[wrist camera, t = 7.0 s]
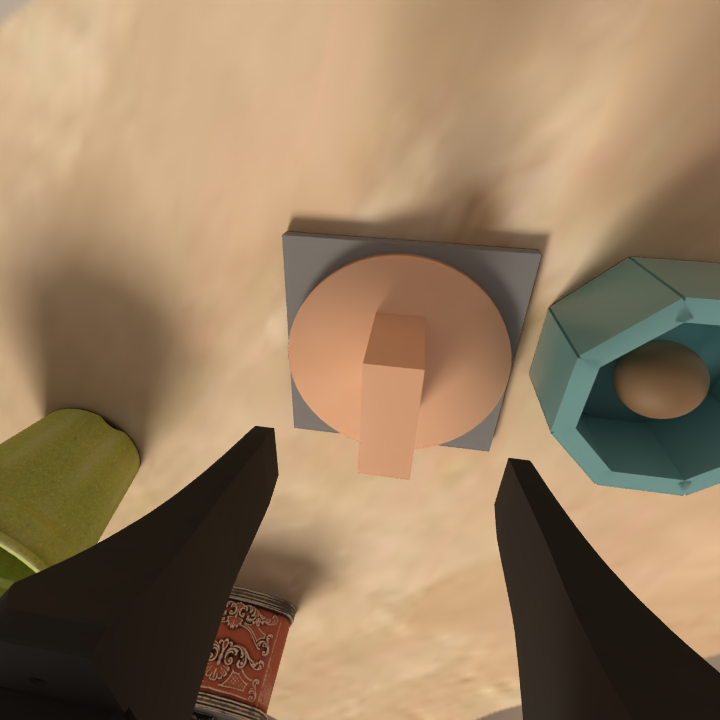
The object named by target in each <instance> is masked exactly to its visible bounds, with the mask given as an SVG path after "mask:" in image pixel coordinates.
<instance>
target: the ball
mask: <svg viewBox="0 0 720 720" xmlns="http://www.w3.org/2000/svg"><path fill="white" fill-rule="evenodd" d="M613 385H614V389H615V392H616V394H617V396H618V397H619V399H620V400H621V401H622V402H623V403H624V404H625V405H626V406H627V407H628V408H629V409H631V410H632V411H634V412H636V413H638V414H640V415H643V416H646V417H649V418H656V419H669V418H676V417H679V416H682V415H685V414H687V413H689V412H691V411H692V410H694V409H695V408H696V407H698V406H699V405H700V404H701V402H702V401H703V400H704V398H705V397H706V395H707V392H708V389H709V385H710V376H709V372H708V368H707V366H706V364H705V363H704V361H703V360H702V358H701V357H700V356H699V355H698V354H697V353H696V352H695V351H693V350H692V349H690V348H689V347H687V346H685V345H682V344H680V343H677V342H673V341H667V340H652V341H649V342H647V343H645V344H643V345H641V346H639V347H637V348H635V349H634V350H632V351H630V352H628V353H626V354H624V355H622V356H621V357H620V358H619V360H618V361H617V363H616V365H615V368H614V371H613Z"/></svg>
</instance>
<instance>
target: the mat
mask: <svg viewBox="0 0 720 720" xmlns="http://www.w3.org/2000/svg"><path fill="white" fill-rule="evenodd" d="M282 238H283V255H284V271H285V287H286V303H287V319H288V336H289V337H290V331H291V328H292V325H293V322H294V319H295V317H296V315H297V313H298V311H299V309H300V307H301V306H302V304H303V302H304V301H305V299H306V298H307V297H308V295H309V294H310V292H311V291H312V290H313V289H314V288H315V287H316V285H317V284H318V283H319V282H320V281H321V280H322V279H324V278H325V277H326V276H327V275H329V274H330V273H331V272H333V271H334V270H336V269H338V268H339V267H341V266H343V265H345V264H347V263H349V262H352V261H354V260H357V259H359V258H363V257H367V256H371V255H374V254H382V253H412V254H419V255H425V256H428V257H432V258H435V259H439V260H441V261H443V262H446V263H448V264H450V265H453V266H455V267H456V268H458V269H460V270H461V271H463V272H465V273H466V274H468V275H469V276H470V277H471V278H473V279H474V280H475V281H476V282H478V283H479V284H480V285H481V287H482V288H483V289H484V290H485V291H486V292H487V293H488V294H489V296H490V297H491V298H492V300H493V301H494V303H495V304H496V306H497V308H498V310H499V312H500V314H501V316H502V318H503V321H504V323H505V326H506V330H507V333H508V336H509V339H510V346H511V368H512V364H513V360H514V356H515V353H516V349H517V345H518V341H519V338H520V334H521V330H522V326H523V323H524V319H525V315H526V311H527V308H528V304H529V300H530V296H531V293H532V289H533V285H534V281H535V277H536V274H537V270H538V266H539V262H540V259H541V255H542V254H541V253H540V252H539V250H535V249H521V248H507V247H494V246H480V245H466V244H453V243H439V242H425V241H412V240H398V239H384V238H371V237H357V236H343V235H330V234H316V233H302V232H289V231H286V232H285V233H284V234H283V235H282ZM510 371H511V370H510ZM507 383H508V382H507ZM291 384H292V400H293V416H294V428H300V429H308V430H317V431H325V432H333V433H339V432H338V431H336V430H335V429H333V428H332V427H330V426H329V425H327V424H326V423H325V422H324V421H322V420H321V419H320V418H319V417H318V416H317V415H316V414H315V413H314V412H313V411H312V410H311V409H310V407H309V406H308V405H307V403H306V402H305V401H304V399H303V398H302V396H301V394H300V393H299V391H298V389H297V387H296V385H295V382H294V380H293V377H292V373H291ZM506 386H507V385H506ZM505 390H506V388H505ZM504 394H505V391H504V393H503V395H502V397H501V398H500V400H499V402H498V403H497V405H496V406H495V408H494V409H493V410H492V412H491V413H490V414H489V415H488V416H487V417H486V418H485V419H484V420H483V421H482V422H481V423H479V424H478V425H477V426H476V427H475V428H473V429H472V430H470V431H469V432H467V433H465V434H464V435H462V436H460V437H458V438H456V439H454V440H451V441H449V442H446V443H443V444H440V446H448V447H456V448H464V449H472V450H481V451H489V450H490V446H491V443H492V439H493V435H494V431H495V428H496V424H497V420H498V416H499V413H500V409H501V405H502V401H503V398H504Z"/></svg>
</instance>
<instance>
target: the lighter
mask: <svg viewBox="0 0 720 720" xmlns="http://www.w3.org/2000/svg"><path fill="white" fill-rule="evenodd" d="M295 613H296V610H295V608H294V606H293V605H292V604H291V603H289V602H287V601H285V600H282V599H279V598H276V597H273V596H270V595H267V594H264V593H260V592H256V591H253V590H249V589H245V588H240V587H235V586H233V588H232V591H231V594H230V597H229V600H228V603H227V606H226V608H225V611H224V614H223V617H222V620H221V623H220V626H219V629H218V633H217V636H216V639H215V642H214V645H213V648H212V651H211V654H210V657H209V661H208V664H207V667H206V671H205V674H204V677H203V680H202V684H201V687H200V690H199V694H198V697H197V701H196V704H195V708H194V711H193V715H192V718H191V720H267V719H268V718H267V715H266V713H267V709H268V705H269V702H270V698H271V694H272V690H273V687H274V683H275V679H276V675H277V672H278V668H279V664H280V661H281V657H282V653H283V649H284V646H285V642H286V638H287V634H288V631H289V628H290V627H291V626H292V624H293V621H294V617H295Z"/></svg>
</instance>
